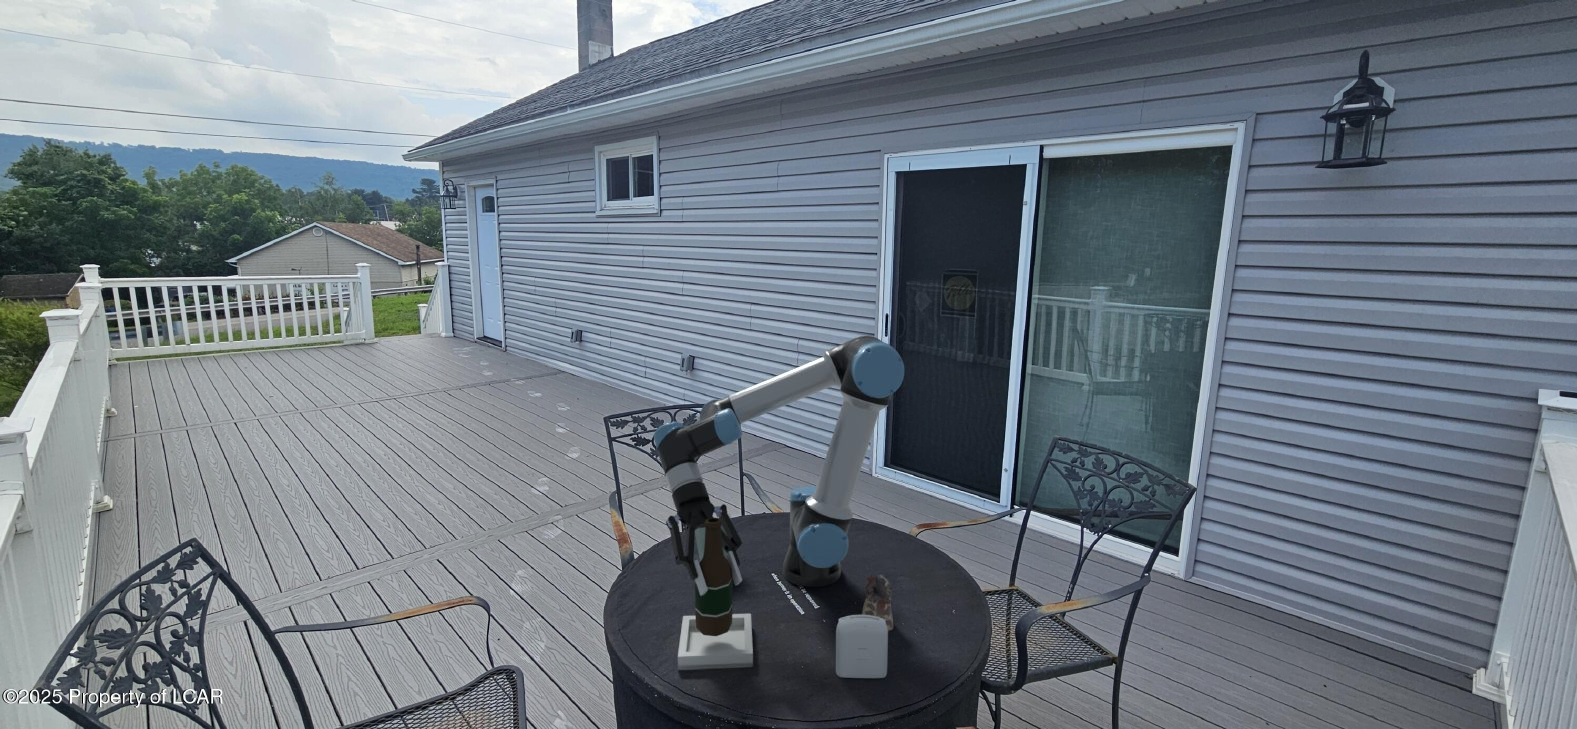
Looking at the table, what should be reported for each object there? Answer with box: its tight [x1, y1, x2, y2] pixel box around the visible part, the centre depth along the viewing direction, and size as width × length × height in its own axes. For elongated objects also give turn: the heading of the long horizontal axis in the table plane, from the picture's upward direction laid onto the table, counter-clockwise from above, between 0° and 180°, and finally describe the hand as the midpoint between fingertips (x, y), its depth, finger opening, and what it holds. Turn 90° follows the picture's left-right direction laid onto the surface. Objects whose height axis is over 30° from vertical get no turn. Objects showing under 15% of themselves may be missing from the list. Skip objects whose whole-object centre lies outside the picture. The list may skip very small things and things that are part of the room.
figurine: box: [861, 573, 894, 632], centre depth 150 cm, size 7×7×12 cm
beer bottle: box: [694, 517, 733, 636], centre depth 139 cm, size 8×8×24 cm
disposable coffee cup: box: [695, 510, 733, 562], centre depth 177 cm, size 11×11×15 cm
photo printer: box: [835, 614, 889, 679], centre depth 132 cm, size 10×4×12 cm, turn 88°
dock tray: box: [677, 613, 754, 671], centre depth 142 cm, size 15×15×3 cm
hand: (721, 587), depth 136 cm, fingers closed on beer bottle, 7 cm apart
